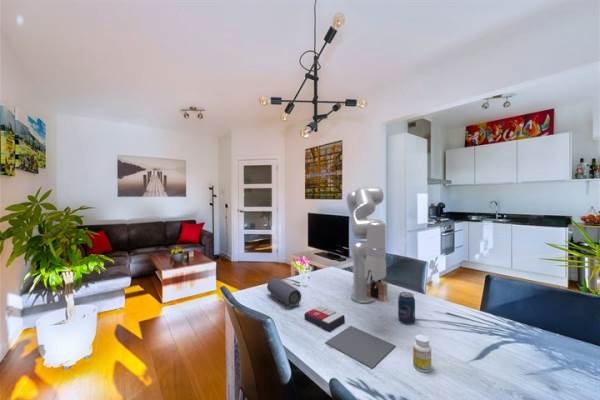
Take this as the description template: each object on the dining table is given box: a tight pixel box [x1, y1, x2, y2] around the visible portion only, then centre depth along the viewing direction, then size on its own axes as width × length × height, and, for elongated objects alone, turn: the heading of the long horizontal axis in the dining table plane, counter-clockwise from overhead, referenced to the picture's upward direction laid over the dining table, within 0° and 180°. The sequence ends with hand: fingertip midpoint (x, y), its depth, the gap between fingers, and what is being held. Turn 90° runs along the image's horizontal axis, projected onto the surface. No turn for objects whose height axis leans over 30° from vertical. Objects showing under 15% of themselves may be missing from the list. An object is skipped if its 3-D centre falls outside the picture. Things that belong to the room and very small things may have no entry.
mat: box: [325, 325, 397, 370], centre depth 93 cm, size 17×20×1 cm
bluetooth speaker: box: [266, 277, 302, 307], centre depth 133 cm, size 23×9×10 cm, turn 34°
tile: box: [366, 280, 388, 303], centre depth 102 cm, size 3×8×7 cm, turn 44°
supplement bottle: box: [412, 334, 432, 373], centre depth 81 cm, size 5×5×10 cm
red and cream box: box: [303, 305, 346, 333], centre depth 111 cm, size 11×4×15 cm
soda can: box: [397, 291, 416, 325], centre depth 110 cm, size 7×7×12 cm
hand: (376, 295), depth 102 cm, fingers closed on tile, 2 cm apart
